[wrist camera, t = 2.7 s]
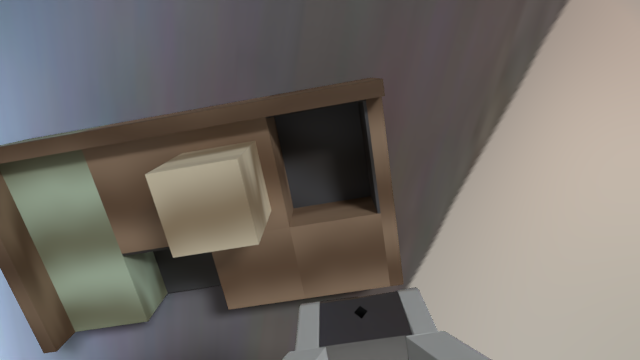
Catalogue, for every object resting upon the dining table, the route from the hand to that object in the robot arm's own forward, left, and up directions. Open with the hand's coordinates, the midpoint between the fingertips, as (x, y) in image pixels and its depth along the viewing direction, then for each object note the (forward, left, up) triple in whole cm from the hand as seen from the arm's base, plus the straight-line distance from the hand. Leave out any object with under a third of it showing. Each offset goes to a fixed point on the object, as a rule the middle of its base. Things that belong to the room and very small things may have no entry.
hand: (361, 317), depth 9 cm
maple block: (0, -8, -15) cm, 17 cm away
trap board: (+2, -10, -19) cm, 21 cm away
